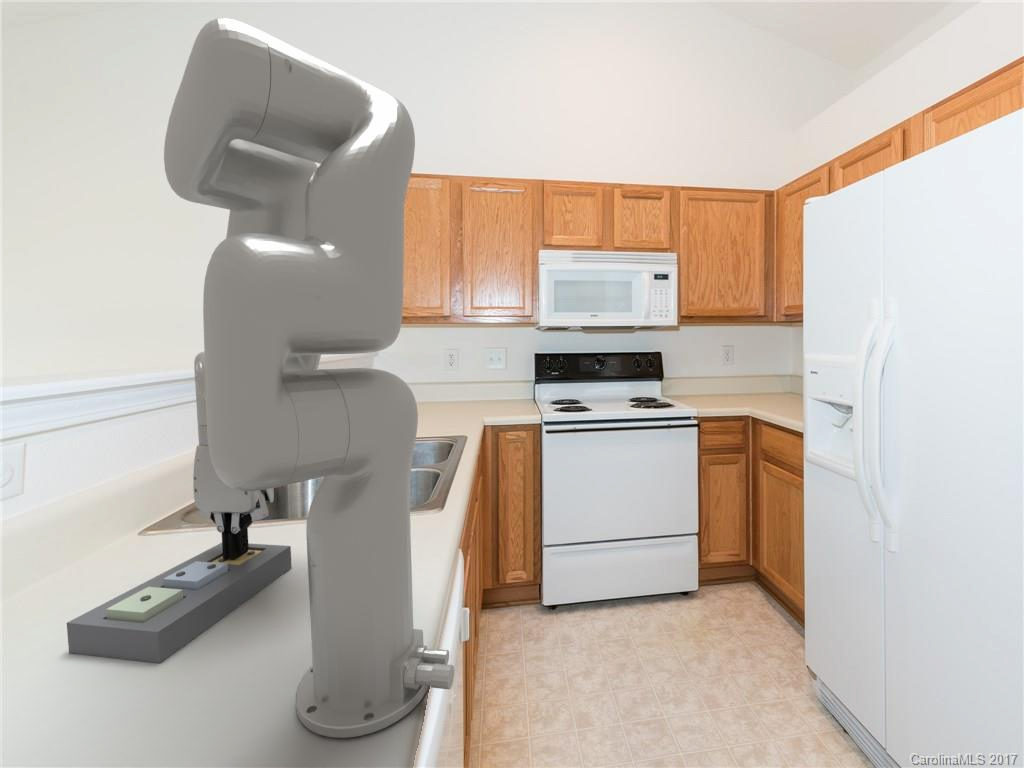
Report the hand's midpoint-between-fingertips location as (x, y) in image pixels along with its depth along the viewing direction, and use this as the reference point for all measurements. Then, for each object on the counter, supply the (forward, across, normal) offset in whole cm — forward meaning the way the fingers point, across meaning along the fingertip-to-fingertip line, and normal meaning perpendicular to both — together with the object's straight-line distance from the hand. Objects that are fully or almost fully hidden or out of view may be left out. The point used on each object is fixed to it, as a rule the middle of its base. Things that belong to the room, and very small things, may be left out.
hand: (236, 555), depth 67 cm
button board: (+3, 0, +7) cm, 8 cm away
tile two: (+1, 0, +7) cm, 7 cm away
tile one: (+1, 0, +14) cm, 14 cm away
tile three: (+2, 0, 0) cm, 2 cm away
